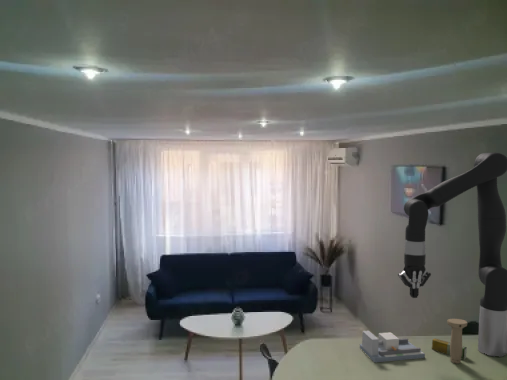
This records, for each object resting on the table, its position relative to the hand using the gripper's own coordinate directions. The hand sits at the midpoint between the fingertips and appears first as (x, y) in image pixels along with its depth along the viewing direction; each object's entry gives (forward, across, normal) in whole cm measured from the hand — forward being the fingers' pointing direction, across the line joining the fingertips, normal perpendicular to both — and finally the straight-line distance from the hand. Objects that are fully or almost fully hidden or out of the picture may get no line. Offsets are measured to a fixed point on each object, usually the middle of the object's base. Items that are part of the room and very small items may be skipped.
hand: (413, 297), depth 166 cm
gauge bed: (+20, +10, +1) cm, 22 cm away
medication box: (+21, -12, +6) cm, 24 cm away
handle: (+21, -9, +12) cm, 26 cm away
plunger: (+18, +13, +2) cm, 22 cm away
